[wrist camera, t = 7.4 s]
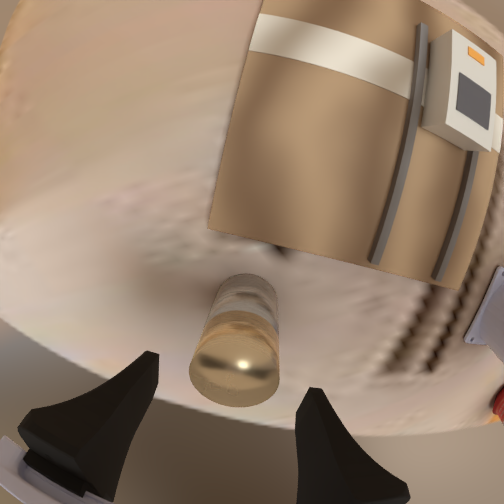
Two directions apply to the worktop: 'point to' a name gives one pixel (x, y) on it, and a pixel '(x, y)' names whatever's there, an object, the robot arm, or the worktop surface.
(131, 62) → the worktop surface
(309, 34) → the board
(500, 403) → the liquor
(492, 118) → the block
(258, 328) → the marbled round peg
